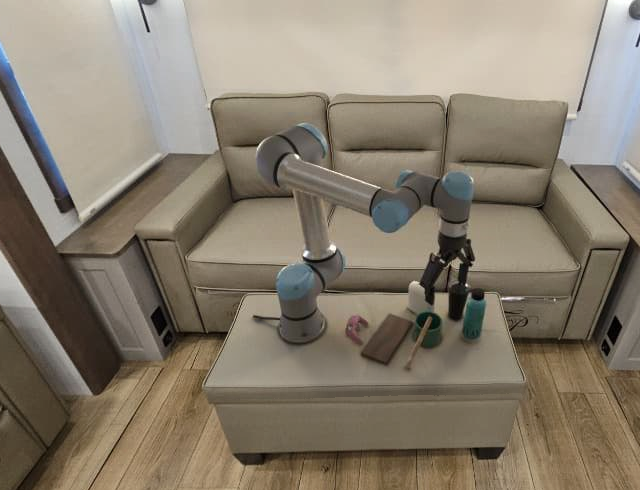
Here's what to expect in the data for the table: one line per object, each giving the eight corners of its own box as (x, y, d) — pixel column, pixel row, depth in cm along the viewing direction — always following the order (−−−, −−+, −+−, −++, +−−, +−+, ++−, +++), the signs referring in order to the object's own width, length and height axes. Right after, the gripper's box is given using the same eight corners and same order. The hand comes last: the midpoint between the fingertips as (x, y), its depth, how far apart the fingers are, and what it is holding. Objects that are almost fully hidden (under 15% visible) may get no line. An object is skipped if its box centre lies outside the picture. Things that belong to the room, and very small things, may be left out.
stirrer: (411, 340, 142) (403, 369, 131) (429, 314, 135) (422, 342, 124) (415, 342, 142) (407, 371, 131) (433, 316, 135) (427, 344, 124)
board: (361, 354, 136) (361, 352, 135) (389, 315, 151) (389, 313, 150) (386, 364, 133) (386, 362, 132) (412, 323, 148) (412, 321, 147)
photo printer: (406, 308, 154) (407, 281, 147) (414, 302, 156) (415, 276, 149) (427, 322, 148) (429, 296, 141) (435, 316, 151) (437, 290, 143)
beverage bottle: (458, 339, 142) (464, 294, 130) (464, 326, 147) (471, 282, 135) (477, 346, 140) (485, 301, 128) (482, 332, 145) (491, 288, 133)
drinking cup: (465, 324, 148) (472, 280, 136) (443, 321, 149) (448, 277, 137) (466, 310, 154) (473, 266, 142) (445, 306, 155) (450, 263, 143)
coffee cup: (409, 341, 141) (410, 325, 136) (420, 324, 148) (421, 308, 143) (434, 351, 138) (436, 334, 133) (444, 332, 144) (446, 316, 140)
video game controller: (359, 325, 148) (349, 311, 145) (370, 323, 147) (360, 308, 143) (350, 346, 141) (340, 331, 137) (362, 344, 139) (352, 329, 136)
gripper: (428, 255, 101) (424, 319, 114) (494, 220, 115) (483, 280, 128) (407, 241, 106) (405, 304, 119) (473, 209, 119) (464, 269, 132)
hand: (445, 292), depth 123 cm, fingers open, 13 cm apart
